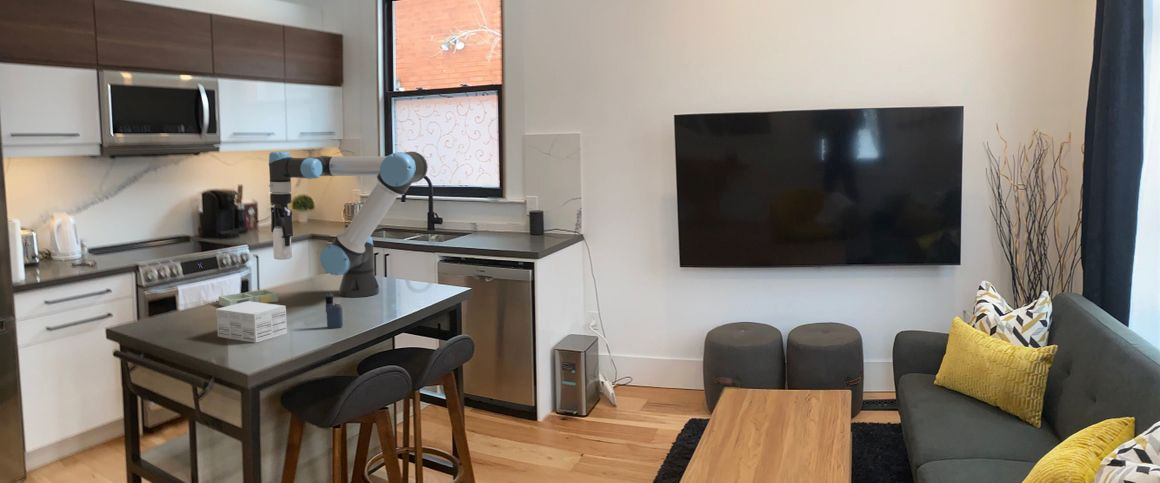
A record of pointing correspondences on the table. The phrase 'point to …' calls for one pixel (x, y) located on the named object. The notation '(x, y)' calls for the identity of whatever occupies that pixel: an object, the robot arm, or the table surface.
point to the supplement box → (251, 321)
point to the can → (279, 244)
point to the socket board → (249, 297)
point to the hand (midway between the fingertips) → (282, 253)
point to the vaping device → (333, 312)
